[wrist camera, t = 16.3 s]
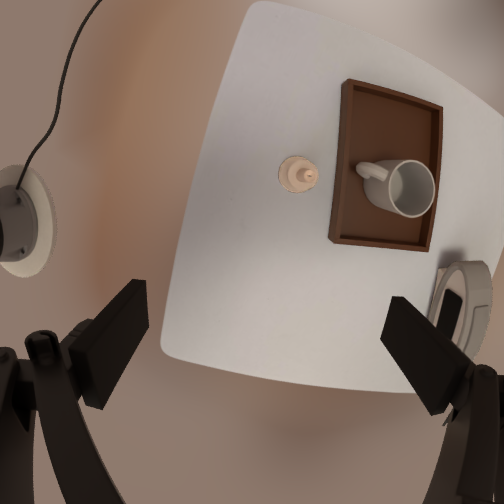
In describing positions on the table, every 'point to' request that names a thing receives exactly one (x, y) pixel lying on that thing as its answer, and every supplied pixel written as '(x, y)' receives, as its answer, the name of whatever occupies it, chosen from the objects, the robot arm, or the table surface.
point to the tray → (378, 149)
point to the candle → (298, 174)
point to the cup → (398, 186)
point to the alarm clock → (463, 304)
